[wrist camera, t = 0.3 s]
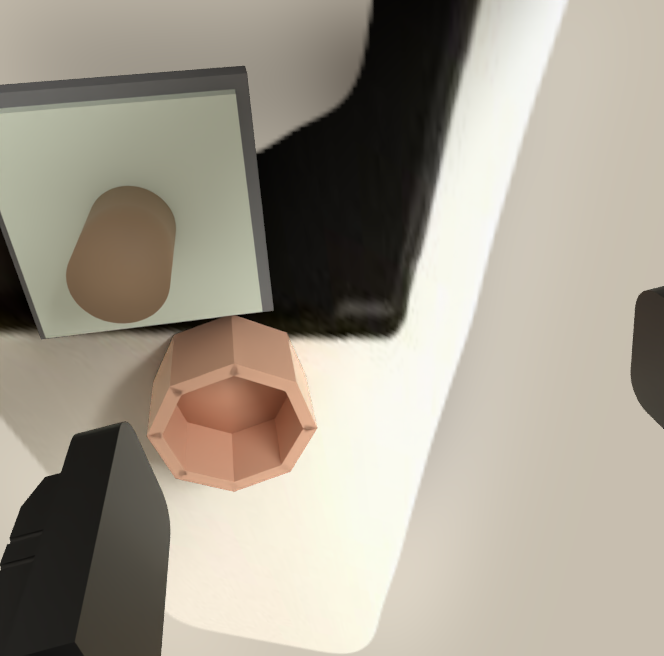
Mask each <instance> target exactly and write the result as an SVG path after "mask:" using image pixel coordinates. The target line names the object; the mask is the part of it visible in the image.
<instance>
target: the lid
mask: <svg viewBox="0 0 664 656" xmlns="http://www.w3.org/2000/svg"><path fill="white" fill-rule="evenodd" d="M0 212H1V215H2V217H3V220H4V223H5V226H6V229H7V231H8V234H9V237H10V240H11V243H12V245H13V248H14V251H15V254H16V256H17V259H18V262H19V265H20V268H21V270H22V273H23V276H24V279H25V282H26V284H27V287H28V290H29V293H30V296H31V298H32V301H33V304H34V307H35V310H36V312H37V315H38V318H39V321H40V323H41V326H42V329H43V332H44V335H45V337H46V338H54V337H62V336H70V335H78V334H86V333H94V332H102V331H110V330H118V329H126V328H134V327H142V326H150V325H158V324H166V323H174V322H183V321H191V320H199V319H207V318H215V317H223V316H231V315H239V314H247V313H255V312H263V311H262V303H261V295H260V287H259V279H258V271H257V262H256V254H255V246H254V238H253V230H252V222H251V214H250V206H249V198H248V190H247V182H246V173H245V165H244V157H243V149H242V141H241V133H240V125H239V117H238V109H237V101H236V93H235V89H230V90H218V91H206V92H193V93H181V94H169V95H157V96H145V97H133V98H121V99H108V100H96V101H84V102H72V103H60V104H48V105H36V106H23V107H11V108H0Z"/></svg>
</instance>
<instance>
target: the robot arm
mask: <svg viewBox="0 0 664 656" xmlns="http://www.w3.org/2000/svg"><path fill="white" fill-rule="evenodd" d="M631 381H632V386H633V390H634V392H635V395H636V397H637V399H638V401H639V403H640V404H641V406H642V407H643V408H644V409H645V411H646V412H647V413H648V414H649V415H650V416H651V417H652V418H653V419H654V420H655V421H656V422H657V423H658V424H659V425H660V426H661V427H663V429H664V286H662V287H658V288H654V289H650V290H647V291H643V292H642V293H641V294H640V295H639V296H638V298H637V301H636V306H635V318H634V333H633V346H632V361H631ZM10 541H11V542H10V544H7V547H6V549H5V552H4V554H3V557H2V560H1V563H0V566H1V570H0V656H161V648H162V635H163V622H164V609H165V596H166V584H167V571H168V558H169V545H170V520H169V514H168V509H167V504H166V501H165V498H164V495H163V493H162V490H161V488H160V486H159V484H158V481H157V479H156V477H155V475H154V473H153V470H152V468H151V466H150V464H149V462H148V459H147V457H146V455H145V453H144V451H143V448H142V446H141V444H140V442H139V439H138V437H137V435H136V433H135V431H134V429H133V428H132V426H131V425H130V424H129V423H128V422H121V423H117V424H113V425H109V426H105V427H102V428H98V429H94V430H90V431H86V432H82V433H78V434H75V435H74V436H73V438H72V440H71V442H70V446H69V449H68V452H67V455H66V458H65V462H64V465H63V468H62V471H61V473H59V474H55V475H51V476H47V477H45V478H44V479H43V480H42V482H41V483H40V484H39V485H38V486H37V488H36V489H35V490H34V491H33V493H32V494H31V495H30V496H29V498H28V499H27V500H26V501H25V503H24V504H23V505H22V506H21V508H20V511H19V514H18V517H17V519H16V522H15V525H14V527H13V530H12V533H11V535H10Z"/></svg>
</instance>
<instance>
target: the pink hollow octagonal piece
mask: <svg viewBox="0 0 664 656" xmlns="http://www.w3.org/2000/svg"><path fill="white" fill-rule="evenodd" d="M316 429H317V424H316V420H315V415H314V411H313V406H312V402H311V397H310V393H309V388H308V383H307V379H306V375H305V373H304V371H303V368H302V366H301V364H300V362H299V359H298V357H297V355H296V352H295V350H294V348H293V346H292V343H291V341H290V339H289V337H288V334H287V333H286V332H283V331H280V330H277V329H274V328H271V327H268V326H265V325H262V324H259V323H256V322H253V321H251V320H248V319H245V318H242V317H239V316H236V315H234V316H226V317H222V318H219V319H216V320H213V321H211V322H208V323H205V324H202V325H200V326H197V327H194V328H191V329H189V330H186V331H183V332H180V333H178V334H175V335H174V336H173V338H172V340H171V343H170V345H169V347H168V349H167V352H166V354H165V356H164V358H163V361H162V363H161V365H160V367H159V370H158V372H157V374H156V376H155V379H154V381H153V388H152V396H151V405H150V413H149V421H148V430H147V437H148V439H149V440H150V442H151V443H152V445H153V446H154V448H155V449H156V451H157V452H158V453H159V455H160V456H161V458H162V459H163V461H164V462H165V464H166V465H167V467H168V468H169V469H170V471H171V472H172V474H173V475H174V477H175V478H176V479H180V480H185V481H189V482H193V483H198V484H202V485H207V486H211V487H216V488H220V489H225V490H229V491H237V490H240V489H243V488H246V487H248V486H251V485H254V484H257V483H260V482H262V481H265V480H268V479H271V478H274V477H277V476H279V475H282V474H285V473H288V472H291V470H292V468H293V467H294V465H295V463H296V462H297V460H298V459H299V457H300V455H301V454H302V452H303V450H304V449H305V447H306V446H307V444H308V442H309V441H310V439H311V437H312V436H313V434H314V433H315V431H316Z"/></svg>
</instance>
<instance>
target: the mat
mask: <svg viewBox="0 0 664 656" xmlns="http://www.w3.org/2000/svg"><path fill="white" fill-rule="evenodd" d="M230 89H235V93H236V101H237V109H238V117H239V125H240V133H241V141H242V149H243V157H244V165H245V173H246V182H247V190H248V198H249V206H250V214H251V222H252V230H253V238H254V246H255V254H256V262H257V271H258V279H259V287H260V295H261V303H262V311H263V312H266V311H274V310H273V301H272V292H271V283H270V274H269V265H268V256H267V247H266V238H265V229H264V221H263V212H262V203H261V194H260V185H259V176H258V167H257V158H256V149H255V140H254V132H253V123H252V113H251V105H250V96H249V87H248V78H247V72H246V68H245V66H236V67H224V68H210V69H197V70H185V71H174V72H173V71H172V72H160V73H147V74H133V75H121V76H108V77H95V78H83V79H69V80H58V81H44V82H31V83H18V84H6V85H0V108H11V107H23V106H36V105H48V104H60V103H72V102H84V101H96V100H108V99H121V98H133V97H145V96H157V95H169V94H181V93H193V92H206V91H218V90H230ZM0 227H1V230H2V233H3V236H4V238H5V241H6V244H7V247H8V249H9V252H10V255H11V258H12V260H13V263H14V266H15V269H16V271H17V274H18V277H19V280H20V282H21V285H22V288H23V291H24V293H25V296H26V299H27V302H28V304H29V307H30V310H31V313H32V315H33V318H34V321H35V324H36V326H37V329H38V332H39V335H40V337H41V339H49V338H46V337H45V335H44V332H43V329H42V326H41V323H40V321H39V318H38V315H37V312H36V310H35V307H34V304H33V301H32V298H31V296H30V293H29V290H28V287H27V284H26V282H25V279H24V276H23V273H22V270H21V268H20V265H19V262H18V259H17V256H16V254H15V251H14V248H13V245H12V243H11V240H10V237H9V234H8V231H7V229H6V226H5V223H4V220H3V217H2V215H1V212H0ZM255 313H258V312H255ZM247 314H250V313H247ZM239 315H242V314H239ZM231 316H234V315H231ZM223 317H226V316H223ZM215 318H218V317H215ZM207 319H210V318H207ZM199 320H202V319H199ZM191 321H194V320H191ZM183 322H186V321H183ZM174 323H177V322H174ZM166 324H169V323H166ZM158 325H161V324H158ZM150 326H153V325H150ZM142 327H145V326H142ZM134 328H137V327H134ZM126 329H129V328H126ZM118 330H121V329H118ZM110 331H113V330H110ZM102 332H105V331H102ZM94 333H97V332H94ZM86 334H89V333H86ZM78 335H81V334H78ZM70 336H73V335H70ZM62 337H65V336H62ZM54 338H57V337H54Z"/></svg>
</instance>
